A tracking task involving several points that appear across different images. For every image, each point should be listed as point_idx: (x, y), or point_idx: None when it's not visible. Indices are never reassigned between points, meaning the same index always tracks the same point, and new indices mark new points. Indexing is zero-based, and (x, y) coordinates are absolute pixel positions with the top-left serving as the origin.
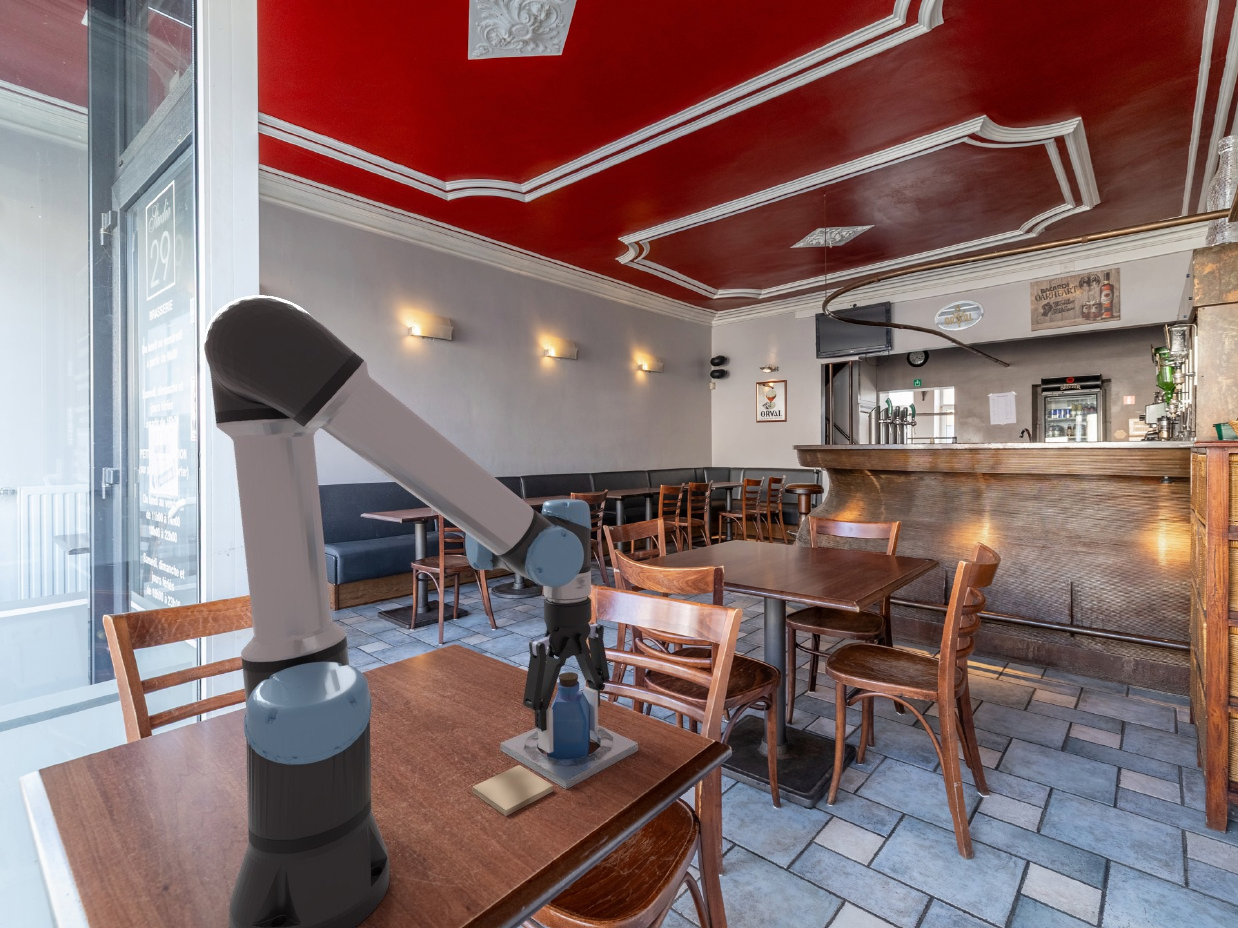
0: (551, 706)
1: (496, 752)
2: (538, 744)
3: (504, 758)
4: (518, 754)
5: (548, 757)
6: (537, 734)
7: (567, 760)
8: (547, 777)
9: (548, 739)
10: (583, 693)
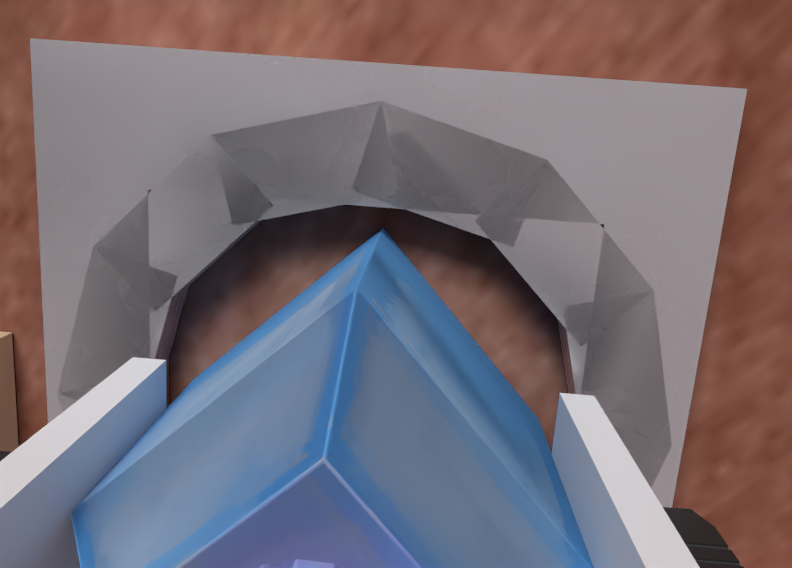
0: (260, 382)
1: (26, 44)
2: (126, 363)
3: (23, 153)
4: (45, 258)
5: None
6: (300, 155)
7: None
8: None
9: None
10: (631, 547)
